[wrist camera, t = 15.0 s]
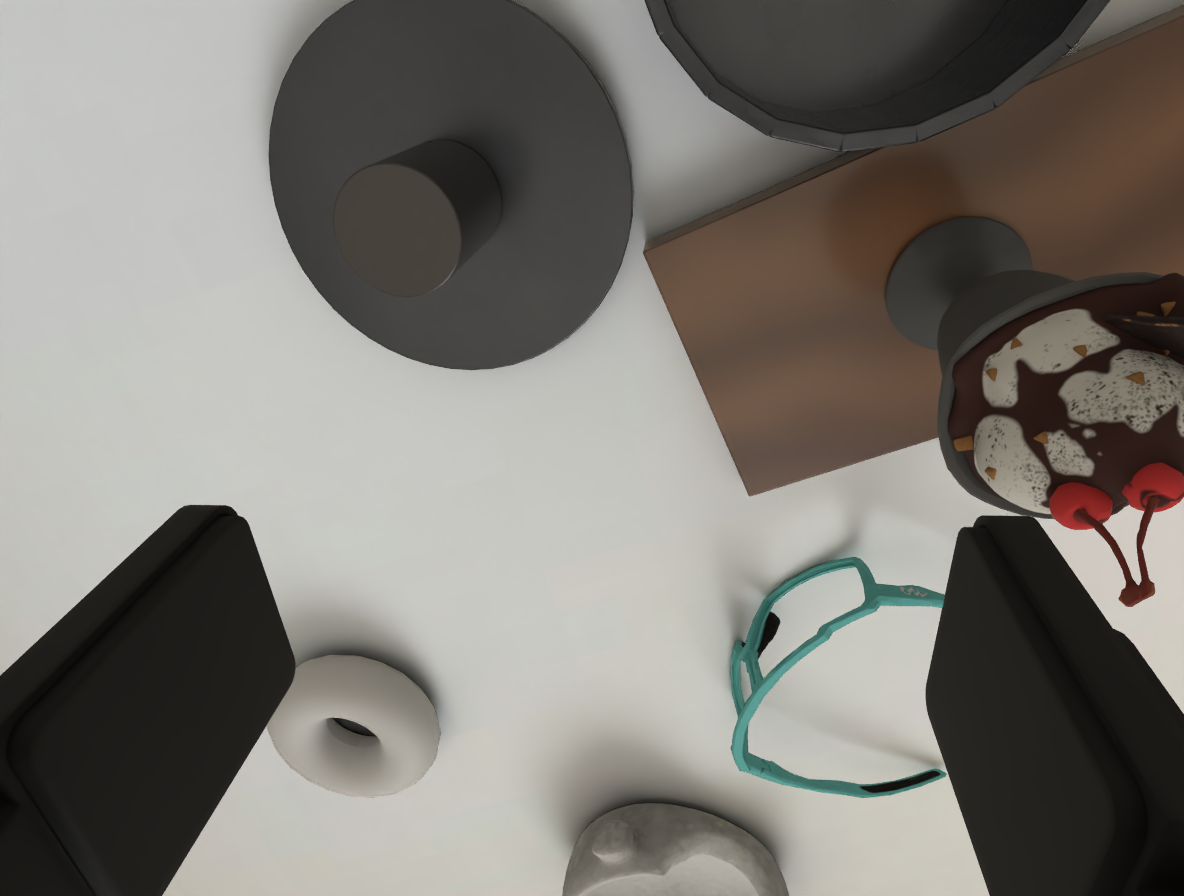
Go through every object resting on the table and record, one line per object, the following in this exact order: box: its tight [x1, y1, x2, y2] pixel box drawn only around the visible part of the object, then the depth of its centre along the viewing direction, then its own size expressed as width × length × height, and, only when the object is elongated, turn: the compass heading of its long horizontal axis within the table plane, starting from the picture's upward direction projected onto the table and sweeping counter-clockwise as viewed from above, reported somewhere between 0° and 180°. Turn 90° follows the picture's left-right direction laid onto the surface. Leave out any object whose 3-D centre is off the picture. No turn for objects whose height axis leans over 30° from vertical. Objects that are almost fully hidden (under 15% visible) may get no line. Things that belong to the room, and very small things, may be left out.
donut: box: [267, 655, 441, 798], centre depth 43 cm, size 10×4×10 cm
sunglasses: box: [730, 557, 946, 798], centre depth 37 cm, size 14×15×5 cm
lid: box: [269, 0, 634, 370], centre depth 26 cm, size 14×14×7 cm
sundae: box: [886, 217, 1184, 607], centre depth 21 cm, size 7×7×15 cm
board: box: [643, 5, 1184, 496], centre depth 28 cm, size 12×20×2 cm, turn 115°
